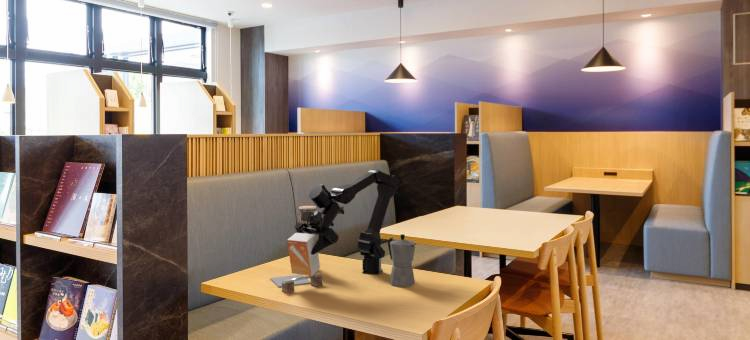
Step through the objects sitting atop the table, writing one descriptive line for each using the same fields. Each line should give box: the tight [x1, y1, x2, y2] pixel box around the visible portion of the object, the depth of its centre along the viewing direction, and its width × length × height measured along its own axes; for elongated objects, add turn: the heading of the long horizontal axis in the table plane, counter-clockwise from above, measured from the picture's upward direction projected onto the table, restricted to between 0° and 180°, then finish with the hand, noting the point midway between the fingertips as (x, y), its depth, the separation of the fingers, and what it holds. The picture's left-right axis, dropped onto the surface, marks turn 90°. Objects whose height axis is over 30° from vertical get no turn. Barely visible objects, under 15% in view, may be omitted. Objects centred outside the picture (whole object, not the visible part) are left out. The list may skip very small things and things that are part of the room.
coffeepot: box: [387, 233, 416, 288], centre depth 195 cm, size 15×9×18 cm, turn 33°
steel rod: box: [282, 272, 323, 284], centre depth 189 cm, size 16×1×1 cm, turn 132°
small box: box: [286, 232, 321, 276], centre depth 187 cm, size 8×6×13 cm
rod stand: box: [281, 275, 323, 294], centre depth 189 cm, size 15×3×3 cm, turn 132°
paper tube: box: [298, 205, 317, 228], centre depth 215 cm, size 7×7×25 cm
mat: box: [270, 274, 311, 288], centre depth 198 cm, size 12×12×1 cm
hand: (303, 251), depth 187 cm, fingers closed on small box, 9 cm apart
